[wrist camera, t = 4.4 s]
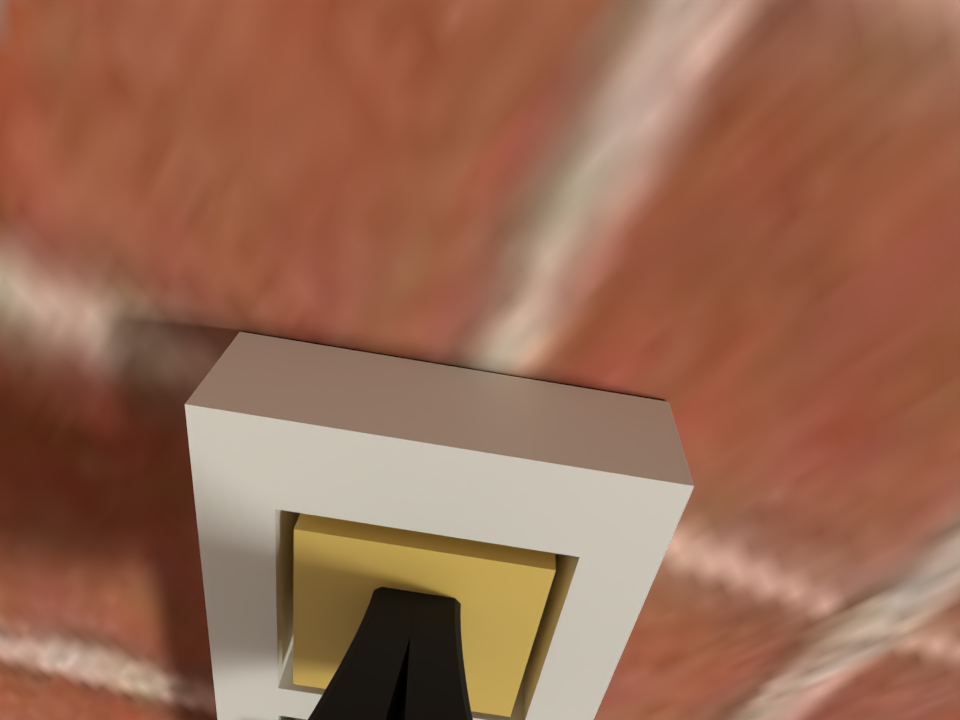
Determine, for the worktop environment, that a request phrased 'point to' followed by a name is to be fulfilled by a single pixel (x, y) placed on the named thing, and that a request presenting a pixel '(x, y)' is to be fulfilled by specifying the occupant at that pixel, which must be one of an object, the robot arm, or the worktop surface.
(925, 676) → the worktop surface
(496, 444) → the button panel
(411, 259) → the worktop surface
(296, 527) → the ochre button
